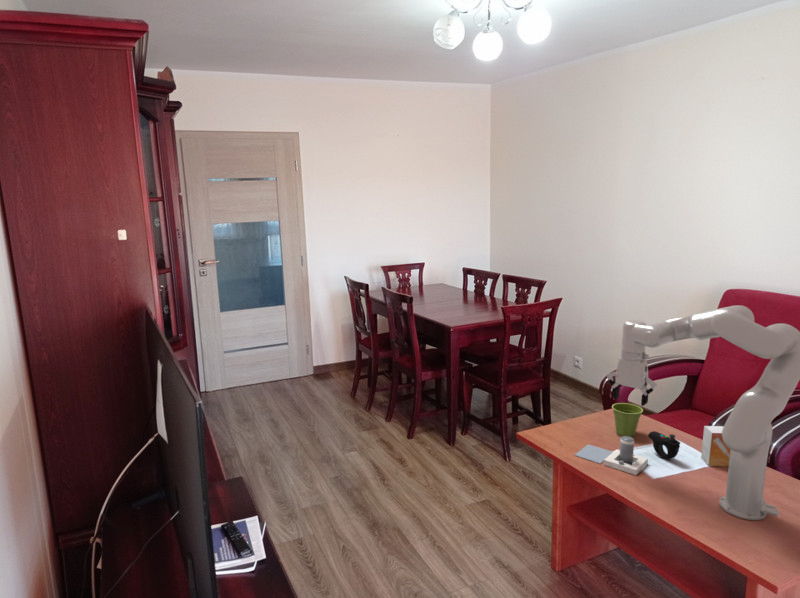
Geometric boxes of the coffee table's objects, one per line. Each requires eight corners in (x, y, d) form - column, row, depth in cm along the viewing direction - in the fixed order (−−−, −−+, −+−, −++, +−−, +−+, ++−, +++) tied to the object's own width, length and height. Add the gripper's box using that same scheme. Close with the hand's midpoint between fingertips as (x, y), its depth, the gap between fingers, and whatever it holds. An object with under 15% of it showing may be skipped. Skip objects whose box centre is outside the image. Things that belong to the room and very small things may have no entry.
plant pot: (646, 440, 217) (647, 413, 215) (616, 440, 217) (617, 413, 215) (634, 427, 228) (636, 402, 226) (606, 427, 229) (607, 402, 227)
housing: (647, 463, 198) (648, 456, 197) (635, 475, 190) (636, 467, 189) (616, 453, 206) (616, 447, 205) (603, 464, 197) (604, 457, 197)
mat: (613, 452, 207) (613, 451, 206) (600, 463, 198) (600, 463, 198) (588, 444, 213) (588, 444, 213) (574, 455, 205) (574, 454, 205)
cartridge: (634, 463, 198) (636, 438, 196) (629, 468, 194) (631, 442, 193) (621, 460, 201) (623, 434, 199) (617, 464, 197) (618, 438, 196)
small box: (708, 466, 195) (711, 432, 193) (700, 458, 201) (703, 425, 199) (732, 467, 194) (735, 433, 192) (723, 458, 200) (726, 425, 198)
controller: (672, 465, 196) (674, 439, 195) (645, 450, 208) (646, 426, 206) (680, 462, 198) (683, 437, 196) (653, 448, 209) (655, 424, 207)
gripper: (662, 357, 187) (658, 404, 190) (612, 348, 199) (610, 393, 202) (654, 362, 181) (651, 410, 185) (604, 353, 193) (601, 398, 196)
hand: (629, 401), depth 193 cm, fingers open, 9 cm apart
